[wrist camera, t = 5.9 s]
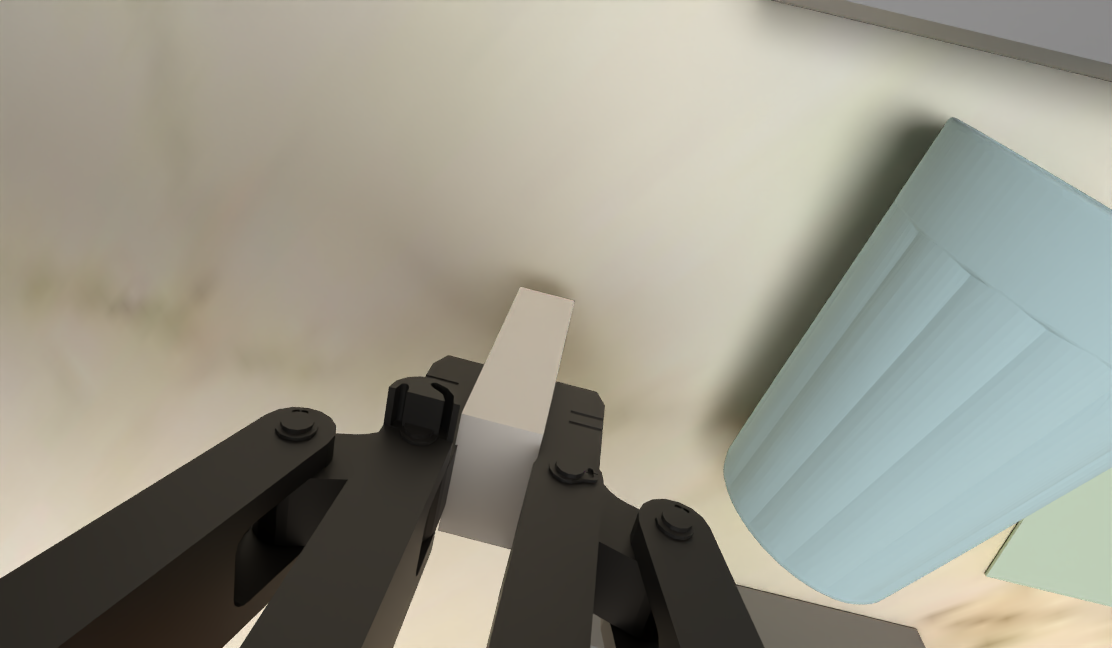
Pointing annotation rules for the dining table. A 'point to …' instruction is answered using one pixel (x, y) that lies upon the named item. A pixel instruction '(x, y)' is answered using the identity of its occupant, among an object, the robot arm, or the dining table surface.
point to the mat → (1064, 545)
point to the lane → (988, 25)
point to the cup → (938, 378)
